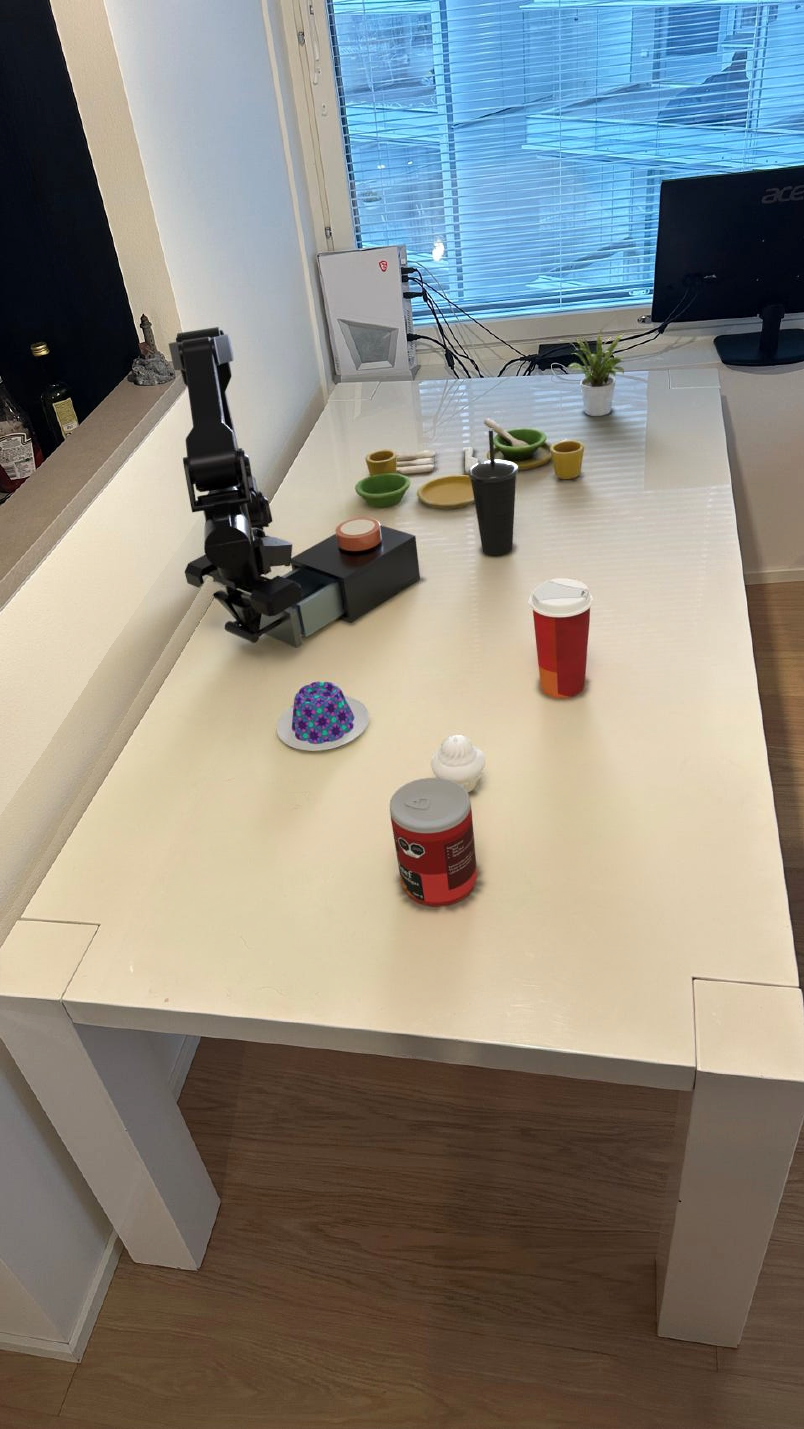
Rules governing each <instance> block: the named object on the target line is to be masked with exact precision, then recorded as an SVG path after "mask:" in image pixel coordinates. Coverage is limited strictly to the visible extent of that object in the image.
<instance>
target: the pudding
mask: <svg viewBox="0 0 804 1429" xmlns="http://www.w3.org/2000/svg"><path fill="white" fill-rule="evenodd" d="M369 722H370V712H369V709H368V707H367V706H366V705H365V703H363V702H362V701H360V700H359V699H357V698H355V697H352V696H350V695H345V694H344V692H343V691H342V689H341V688H340V687H339V686H338V685H335V684H334V683H333V682H331V681H322V682H321V681H313V682H311V683H310V684H305V685H303V686H301V688H300V689H299V690H298V692H297V693H296V694H295V695H294V698H293V704H292V705H291V706H290V707H288V708H287V709H286V710H285V711H284V712H282V714H280V717H279V718H278V720H277V723H276V728H275V729H276V734H277V736H278V738H279V739H280V740H281V741H282V742H283V744H286V745H287V746H289V747H291V748H294V749H297V750H302V751H311V752H312V751H313V752H314V751H324V750H325V751H326V750H330V749H334V748H337V747H341V746H343V745H346V744H348V743H350V742H352V741H353V740H355V739H356V738H358V737H359V736H360V735H361V734H362V733H363V732H364V731H365V730H366V729H367V727H368V725H369Z"/></svg>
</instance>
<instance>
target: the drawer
mask: <svg viewBox="0 0 804 1429" xmlns="http://www.w3.org/2000/svg"><path fill="white" fill-rule="evenodd" d="M280 576H281V575H280ZM281 577H284V578H286V579H289V580H292V581H294V582H296V583H298V584H300V585H301V590H302V595H303V599H302V600H301V601H299V602H297V603H296V604H294V605H292V606H291V607H289V608H287V609H286V610H284V611H282V612H280V613H279V614H277V615H275V616H270V617H269V616H266V615H264V614H262V616H261V622H260V628H259V631H257V632H254V631H252V630H249V629H247V628H245V627H242V626H241V625H240V624H239V623H238V622H237V621H236V620H235V621H232V620H228V621H227V622H225V623H224V630H225V632H227V633H230V634H232V635H234V636H237V637H239V638H241V639H243V640H245V641H248V642H249V643H252V644H256V643H258V642H259V640H260V637H261V636H263V635H264V636H265V635H266V636H267V637H270V638H273V639H274V640H276V641H280V642H281V643H283V644H286V645H288V646H290V647H293V648H295V649H298V648H300V647H302V646H303V645H304V643H303V639H302V637H304V638H308V637H309V636H310V635H312V634H314V633H315V632H317V631H318V630H320V629H322V628H323V627H326V626H327V625H329V624H330V623H331V622H333V621H335V620H337V619H339V618H338V617H339V616H341V615H343V614H344V613H346V611H345V605H344V599H343V593H342V587H341V582H340V581H337V580H335V579H332V578H329V577H326V576H324V575H321V574H318V573H315V572H313V571H310V570H307V569H304V568H302V567H297V568H296V569H294V570H292V569H291V570H290V571H289V572H287V573H285V574H283V575H282V576H281Z"/></svg>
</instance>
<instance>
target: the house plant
mask: <svg viewBox="0 0 804 1429" xmlns="http://www.w3.org/2000/svg"><path fill="white" fill-rule="evenodd" d="M602 331H603V329H600V331H599V333H598V335H597V340H596V347H595V353H592V352H591V350H590V346H589V343H588V342H587V340H586V339H585V337H583V336H581V335H578V334H577V335H578V336H577V337H576V339H575V341H576V343H577V344H579V347H580V348H575V349H574V351H578V352H579V353H578V352H574V353H572V355H573V354H575V355H576V356H577V357H579V359H580V360H581V362H582V363H583V365H584V366H583V365H582V364H580V363H578V362H572V363H570V364H569V365H568V368H572V369H571V371H572V370H573V371H574V370H577V372H579V371H581V372H582V373H583V374H584V375H585V378H583V379H581V380H580V382H579V385H580V390H581V396H582V403H583V408H584V413H585V414H586V415H587V416H591V417H601V416H605V415H606V416H607V415H608V414H610V412H611V410H612V405H613V398H614V393H615V386H616V374H617V372H616V371H615V370H617V371H619V372H621V373H622V374H623V375H625V370H624V368H623V367H621V366H616V365H618V364H620V363H622V362H623V363H624V362H625V361H624V360H623V356H616V357H612V356H613V354H614V353H615V348H616V347H617V346H618V344H619V342H620V340H621V338H622V337H623V336H624V335H625V334H626V332H624V333H621V334H620V335H617V337H616V338H615V339H614V340H613V341H612V343H611V344H610V345H609V347H608V348H607V350H604V351H603V347H604V346H605V345H606V343H607V342H608V341H609V340H610V339H611V338H612V337H613V335H611V337H608V338H607V339H606V340H605V342H604V343H603V340H602V337H601V334H602ZM578 337H580V338H582V339H583V341H584V343H583V341H582V340H581V339H580V338H578ZM557 341H559V342H566V343H569V344H570V345H573V346H574V344H573V343H572V342H570V341H567V340H563V339H557ZM626 344H627V342H625V343H622V344H621V345H619V346H618V347H617V349H619V348H620V347H622V346H623V345H626ZM580 351H581V352H583V353H584V354H585V356H586V357H584V356H583V354H582V353H581V352H580ZM586 359H587V360H586ZM610 375H613V376H614V377H612V376H610Z"/></svg>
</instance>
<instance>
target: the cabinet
mask: <svg viewBox="0 0 804 1429" xmlns="http://www.w3.org/2000/svg"><path fill="white" fill-rule="evenodd" d="M380 529H381V536H382V539H381V542H380V543H379V544H378V545H376V546H374V547H372V548H370V549H366V550H361V551H347V550H344V549H341V548H340V547H339V546H338V544H337V538H336V533H334V534H332V535H331V536H329V537H326V538H325V539H323V540H321V541H320V542H318V543H316V544H314V545H312V546H311V547H309V548H307V549H305V550H303V551H302V552H300V553H298V554H296V555H295V556H292V557H291V565H290V566H291V571H292V570H294V569H296V568H297V567H302V568H304V569H307V570H310V571H313V572H315V573H318V574H321V575H324V576H326V577H329V578H332V579H335V580H337V581H340V582H341V587H342V593H343V599H344V605H345V611H346V613H344V614H343V615H341V616H339V617H338V618H337V619H339V620H341V621H344V622H346V623H349V624H352V623H354V622H355V621H357V620H358V619H361V618H362V617H363V616H365V615H366V614H368V613H371V611H373V610H375V609H376V608H378V607H379V606H381V605H383V604H384V603H385V602H387V601H388V600H390V599H391V598H393V597H395V596H396V595H398V594H400V593H401V592H403V591H404V590H406V589H407V588H409V587H410V586H412V585H414V584H415V583H417V582H419V581H420V580H421V574H420V573H421V572H420V564H419V557H418V556H419V555H418V547H417V538H416V537H417V536H416V535H415V534H413V533H412V534H411V533H408V532H405V531H402V530H399V529H395V528H391V527H388V526H385V525H382V524H380Z"/></svg>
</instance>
